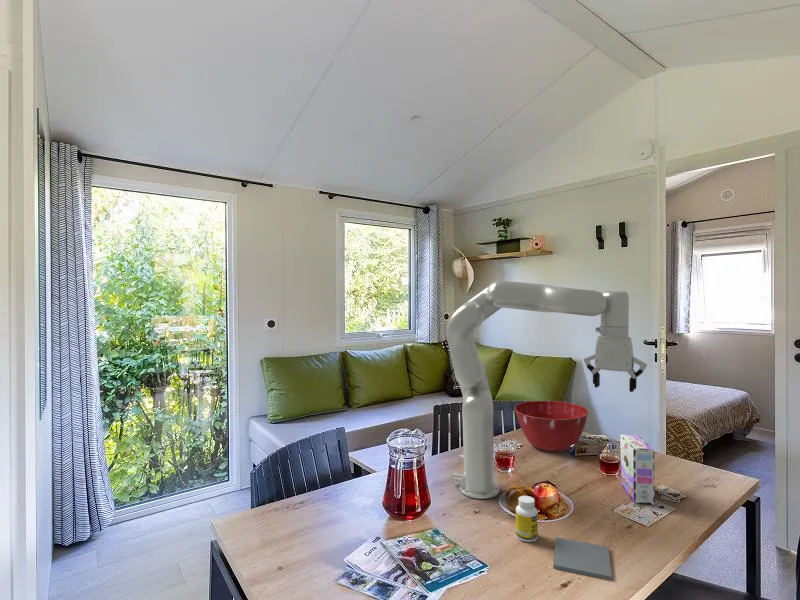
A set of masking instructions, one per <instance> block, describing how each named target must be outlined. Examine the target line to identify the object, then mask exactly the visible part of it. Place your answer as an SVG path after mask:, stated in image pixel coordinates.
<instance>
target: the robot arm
mask: <svg viewBox="0 0 800 600" xmlns="http://www.w3.org/2000/svg"><path fill="white" fill-rule="evenodd" d="M629 302H630V299H629V294H628V292H626V291H622V290H608V291H604V292H603V291H602V292H601V291H600V292H599V291H597V290H591V289H582V288H574V287H573V288H571V287H561V286H553V285H550V284H549V285H548V284H541V283H533V282H532V283H531V282H530V283H529V282H521V281H512V280H496V281H493V282H492V283H490V284H489V285H488V286H487V287H486V288H485V289H483V290H481V292H479V293H478V294H476V295H475V296H473V297H472V298H471V299H469V300H468V301H467V302H465V303H463V304H462V305H461V306H460V307H458V308H457V310H455V311H454V312H453V314H452V315H451V316H450V318H449V319H448V323H447V326H446V341H447V344H448V346H447V347H448V350H449V353H450V358H451V363H452V366H453V370H454V371H453V372H454V376H455V379H456V381H457V383H458V384H459V387H460V391H461V394H462V398H463V399H462V406H461V407H462V408H461V409H462V410H461V415H462V417H461V418H462V441H463V442H462V443H463V445H462V446H463V450H462V451H463V452H462V453H463V472H460V473H457V472H451V475H450V477H451V479H452V482H456V483H459V486H458V488H459V492H460V493H461V494H462V495H464V496H466V497H468V498H472V499H479V500H480V499H481V500H485V499H491V498H494V497H497V496H498V495H499V493H500V486H499V485H498V484H497V483H496V482H495V458H494V457H495V451H494V449H495V447H494V446H495V445H494V402H493V396H492V393H491V389H490V386H489V381H488V378H487V374H486V370H485V366H484V364H483V362H482V360H481V359H480V357H479V353H478V350H477V345H476V341H475V337H474V335H475V331H476V329H477V328H479V327H480V326H481V325H482V324H483V322H484V321H486V320H487V319H488V318H490V317H492V316H493V315H495V313H497V312H498V311H500V310H501V309H503V308H504V309H511V310H512V309H513V310H521V311H529V312H530V311H531V312H538V313H539V312H540V313H559V314H560V313H561V314H567V315H578V316H585V317H586V316H587V317H596V316H600V326H599V327H595V332H596V333H599V334H600V335H598V336H597V339H596V343H595V351H594V354H592V355H590V356H588V357H585V358H583V362H584V364H585V365H586V368H587V369H588V371H590V372H591V375H592V385H594V388H599V387H600V386H601V381H600V380H601V377H600V375H601V374H600V370H603V371H613V372H624V373H625V372H626V373H627V374H628V375H629V376H630V378H629V385H628V386H629V388H628V389H629V392H630V393H633V392H634V391H635V390H636V389H637V378H638V377H639V376H640V375H641V374H643V373H644V371H645V370H646V368H647V367H648V364H647V363H646V362H645V361H643V360H641V359H638V358H637V357H635V356H634V347H633V341H632V337H629V329H630V328H629V324H630V322H629V318H630V317H629V313H630V311H629V309H630V308H629V307H630V306H629V305H630V303H629ZM593 360H594V365H593V364H592V362H591V361H593ZM635 364H636V365H638V366H639V369H638V370H637V371H636V370H635V369H634V367H635Z"/></svg>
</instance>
